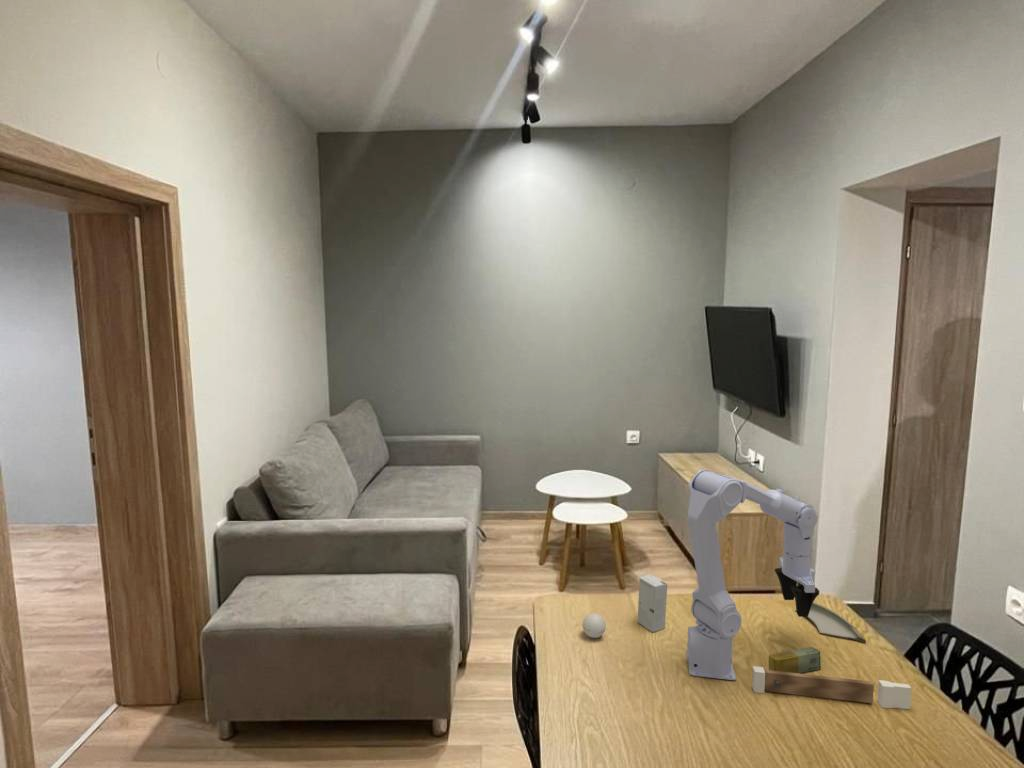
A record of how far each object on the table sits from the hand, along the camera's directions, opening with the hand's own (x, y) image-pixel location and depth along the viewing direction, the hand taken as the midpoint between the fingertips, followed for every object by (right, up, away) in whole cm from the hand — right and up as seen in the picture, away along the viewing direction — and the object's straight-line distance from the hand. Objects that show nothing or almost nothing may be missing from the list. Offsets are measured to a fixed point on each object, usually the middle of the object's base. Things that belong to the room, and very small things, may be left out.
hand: (795, 607), depth 135 cm
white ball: (-47, -10, +6) cm, 49 cm away
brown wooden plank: (-4, -11, -18) cm, 21 cm away
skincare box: (-31, -9, +11) cm, 34 cm away
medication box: (-4, -11, -8) cm, 14 cm away
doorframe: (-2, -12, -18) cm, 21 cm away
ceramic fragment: (+13, -9, +10) cm, 19 cm away
